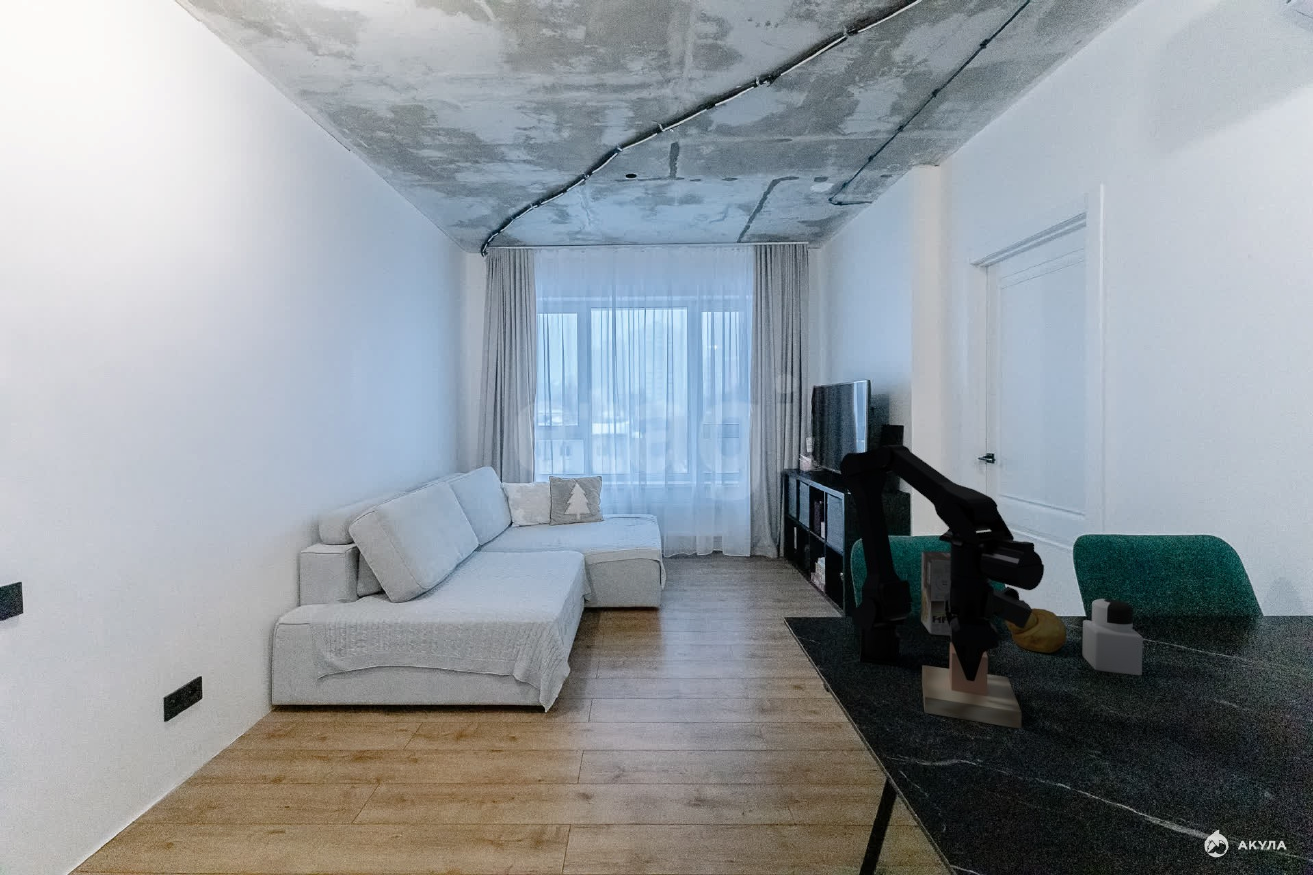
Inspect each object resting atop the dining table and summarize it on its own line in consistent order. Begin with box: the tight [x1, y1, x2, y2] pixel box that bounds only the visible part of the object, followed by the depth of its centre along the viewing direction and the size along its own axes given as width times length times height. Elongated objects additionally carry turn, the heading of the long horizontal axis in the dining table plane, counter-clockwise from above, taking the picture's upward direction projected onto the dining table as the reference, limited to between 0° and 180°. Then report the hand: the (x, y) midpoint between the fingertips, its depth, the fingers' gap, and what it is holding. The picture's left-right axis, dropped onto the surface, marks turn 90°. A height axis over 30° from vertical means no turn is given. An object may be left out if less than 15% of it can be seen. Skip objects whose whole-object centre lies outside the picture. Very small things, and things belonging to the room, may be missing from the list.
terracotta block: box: [948, 641, 989, 696], centre depth 98 cm, size 5×5×6 cm
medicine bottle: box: [1081, 598, 1144, 676], centre depth 112 cm, size 7×7×12 cm
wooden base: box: [921, 664, 1022, 730], centre depth 98 cm, size 13×13×2 cm
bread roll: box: [1005, 608, 1068, 654], centre depth 122 cm, size 13×10×8 cm
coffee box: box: [920, 550, 950, 637], centre depth 132 cm, size 9×6×16 cm
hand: (967, 669), depth 98 cm, fingers open, 8 cm apart
